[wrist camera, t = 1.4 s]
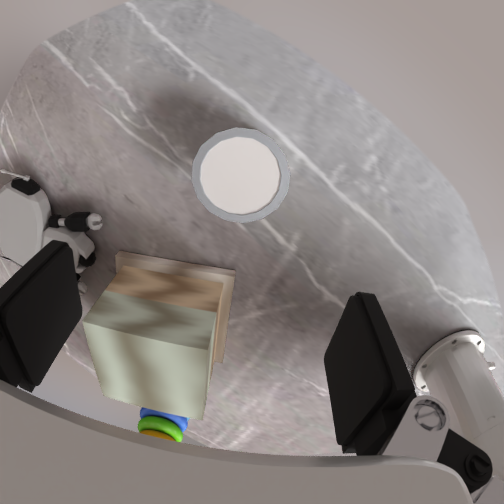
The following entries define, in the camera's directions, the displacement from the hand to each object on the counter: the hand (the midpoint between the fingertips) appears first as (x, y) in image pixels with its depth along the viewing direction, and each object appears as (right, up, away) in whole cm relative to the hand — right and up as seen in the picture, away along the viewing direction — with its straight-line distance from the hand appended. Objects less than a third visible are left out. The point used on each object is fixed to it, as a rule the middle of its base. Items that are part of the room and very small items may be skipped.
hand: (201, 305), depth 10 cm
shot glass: (+1, +10, +17) cm, 20 cm away
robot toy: (-22, +5, +22) cm, 31 cm away
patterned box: (-7, -5, +25) cm, 27 cm away
